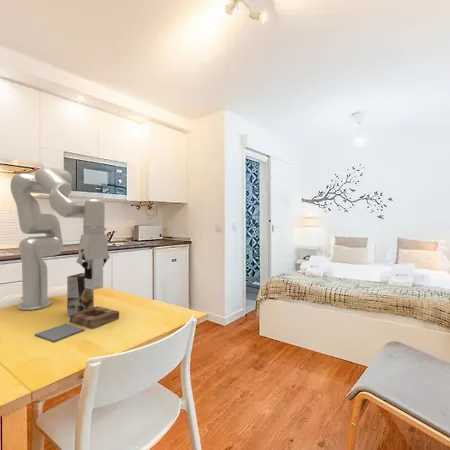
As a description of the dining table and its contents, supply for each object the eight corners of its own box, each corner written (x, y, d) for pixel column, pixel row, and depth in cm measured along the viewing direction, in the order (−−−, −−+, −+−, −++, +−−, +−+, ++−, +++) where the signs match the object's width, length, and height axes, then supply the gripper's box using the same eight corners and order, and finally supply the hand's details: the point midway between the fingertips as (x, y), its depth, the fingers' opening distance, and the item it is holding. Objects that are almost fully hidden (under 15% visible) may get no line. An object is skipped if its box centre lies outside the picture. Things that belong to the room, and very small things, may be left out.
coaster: (34, 335, 99) (34, 333, 99) (65, 325, 108) (65, 323, 108) (54, 342, 93) (54, 340, 93) (84, 330, 103) (84, 329, 103)
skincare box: (103, 287, 113) (103, 257, 113) (93, 290, 110) (93, 259, 109) (93, 285, 116) (93, 256, 116) (84, 288, 113) (84, 257, 112)
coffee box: (80, 316, 118) (79, 277, 118) (66, 315, 120) (66, 276, 119) (94, 309, 127) (94, 272, 127) (81, 308, 128) (81, 272, 128)
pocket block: (69, 322, 111) (69, 314, 111) (96, 313, 122) (96, 306, 122) (92, 328, 105) (92, 320, 105) (119, 318, 115) (119, 311, 115)
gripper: (105, 229, 121) (105, 272, 122) (67, 231, 107) (67, 280, 107) (118, 230, 118) (117, 274, 119) (80, 232, 103) (80, 282, 104)
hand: (93, 276), depth 113 cm, fingers closed on skincare box, 4 cm apart
